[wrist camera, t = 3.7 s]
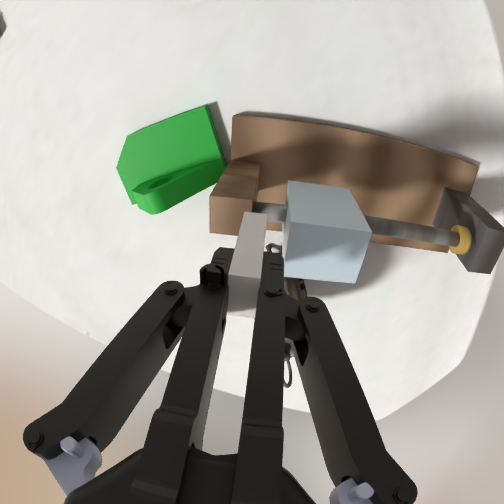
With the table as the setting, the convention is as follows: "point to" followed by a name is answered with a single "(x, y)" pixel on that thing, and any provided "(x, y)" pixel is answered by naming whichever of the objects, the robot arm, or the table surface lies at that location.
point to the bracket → (171, 161)
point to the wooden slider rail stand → (357, 186)
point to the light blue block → (323, 233)
